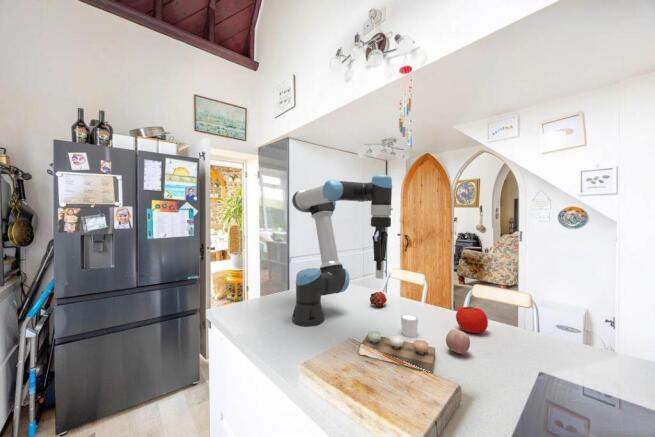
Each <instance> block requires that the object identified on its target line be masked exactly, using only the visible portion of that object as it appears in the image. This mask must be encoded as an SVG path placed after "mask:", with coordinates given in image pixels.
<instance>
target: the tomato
mask: <svg viewBox="0 0 655 437" xmlns="http://www.w3.org/2000/svg"><path fill="white" fill-rule="evenodd" d="M455 320H456V322H457V324H458V326H459V328H460V329H462V330H464V331H466V332H468V333H472V334H478V333H479V334H481V333H483V332H485V331H487V328H488V327H489V322H488V321H489V320H488V317H487V314H486V313H485V312H484V311H483V309H481V308H479V307H476V305H474V306H461V307H460V308H458V309H457V311H456V315H455Z"/></svg>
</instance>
